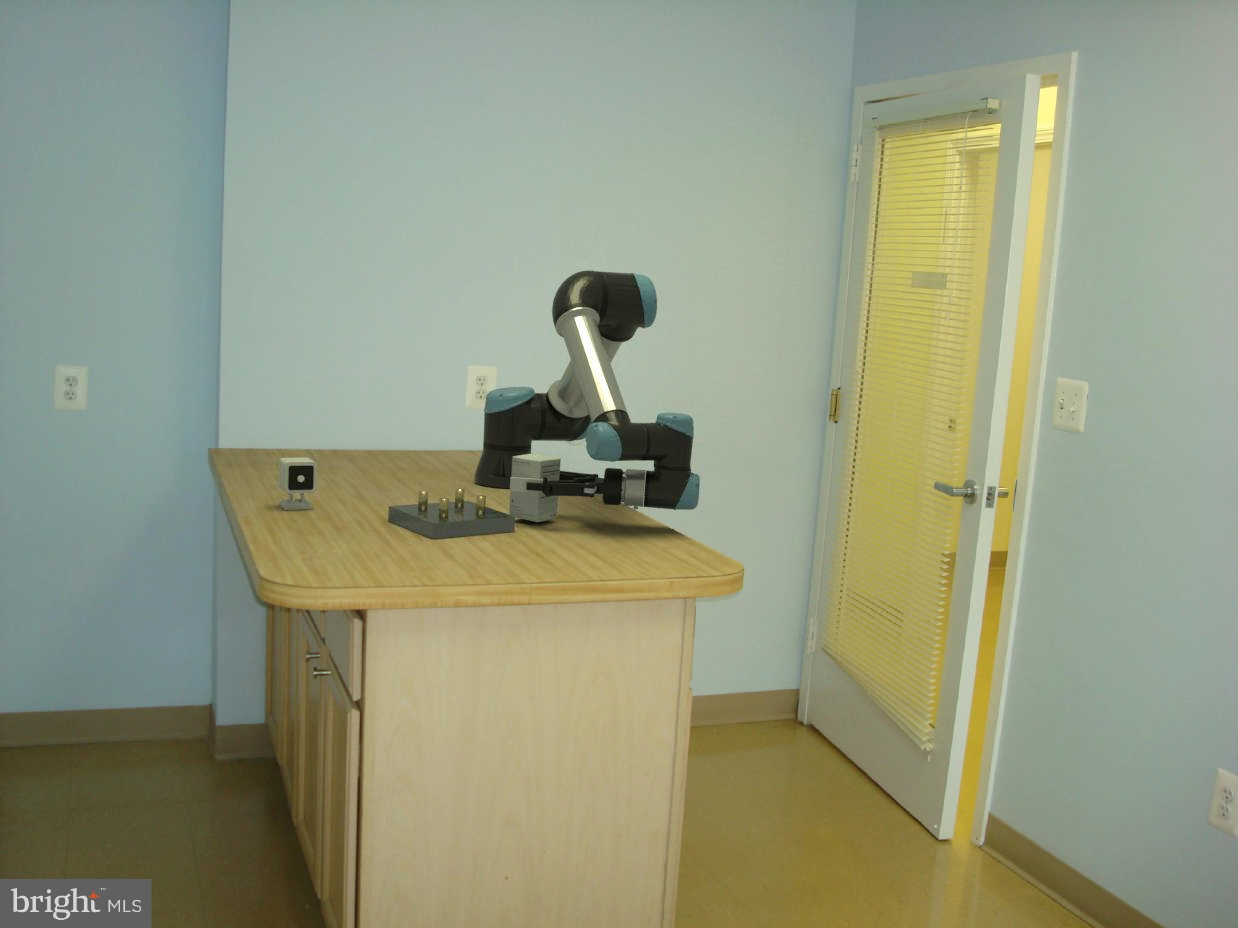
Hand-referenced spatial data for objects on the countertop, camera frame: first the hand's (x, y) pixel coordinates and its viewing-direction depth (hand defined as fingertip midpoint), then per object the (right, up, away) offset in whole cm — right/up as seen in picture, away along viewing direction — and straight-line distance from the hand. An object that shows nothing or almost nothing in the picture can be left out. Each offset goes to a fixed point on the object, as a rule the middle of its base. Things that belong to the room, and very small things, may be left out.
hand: (513, 479), depth 235 cm
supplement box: (+4, -8, +1) cm, 9 cm away
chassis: (-12, -9, -8) cm, 17 cm away
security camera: (-44, -6, +1) cm, 45 cm away
